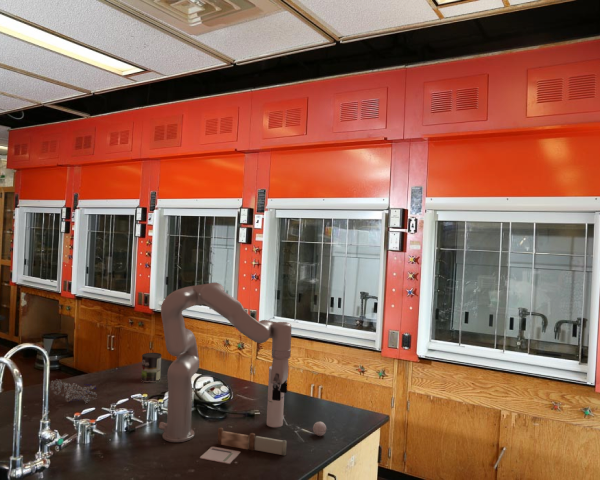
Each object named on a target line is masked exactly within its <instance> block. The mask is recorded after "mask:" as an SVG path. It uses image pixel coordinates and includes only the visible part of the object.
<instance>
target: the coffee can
mask: <svg viewBox="0 0 600 480" xmlns="http://www.w3.org/2000/svg"><path fill="white" fill-rule="evenodd" d="M162 356H163V355H162V354H161V353H159V352H146V353H143V354H141V372H140V373H141V375H140V376H141V377H140V381H141V380H142V381H156V380H159V379H160V380H161V372H162V371H161V366H162ZM142 381H141V382H142Z"/></svg>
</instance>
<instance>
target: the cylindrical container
mask: <svg viewBox="0 0 600 480" xmlns="http://www.w3.org/2000/svg"><path fill="white" fill-rule="evenodd" d="M271 370H272V365H271V366H269V367H268V381H267V382H268V385H267V386H268V387H267V403H266V404H267V408H266V425H267V426H268V427H270V428H280V427H282V426H283V425H284V406H285V405H284V403H285V393H282V392H281V399H280V401H276V400H272V391H273V390H272V389H273V383H271ZM278 387H279V385H278Z"/></svg>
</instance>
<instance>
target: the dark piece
mask: <svg viewBox="0 0 600 480" xmlns="http://www.w3.org/2000/svg"><path fill="white" fill-rule="evenodd" d="M54 385H55V386H54ZM92 385H93V384H92V383H90V384H85V386H83V387H82V386H80V385H78V384H76V383H72V384H71V383H70V382H69V383H67V382H65V381H64V382H62V379H58V378H55V380H51V383H50V386H49V388H50V391H52V393H53V394H54V395H55V396H57V395H59V394H60V393H61V392H62V388H63V390H64V391H63V392H64V393H62V394H60V396H61V397H64V399H65V401H66V402H67V403H68V402H69V403H70V402H72V401H78V402H79V401H80V400H83V402H85V404H86V403H88V402H91V401H93V400H96V399H98V398H96V397H97V396H98V394H97V393H96V392H93V391H90V390H93V389H94V390H97V387H96V385H93V386H92ZM62 386H63V387H62ZM55 390H57V391H58V392H57V391H55ZM87 394H90V395H94V396H93V397H92V396H90V395H87ZM86 395H87V396H86ZM68 399H69V400H68Z"/></svg>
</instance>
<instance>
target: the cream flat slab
mask: <svg viewBox="0 0 600 480" xmlns="http://www.w3.org/2000/svg"><path fill="white" fill-rule="evenodd" d="M254 451H259V452H264V453H269V454H275V455H281V456H286V455H287V440H285V439H284V440H282V439H276V438H271V437H266V436H265V437H264V436H259V435H255V446H254Z"/></svg>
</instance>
